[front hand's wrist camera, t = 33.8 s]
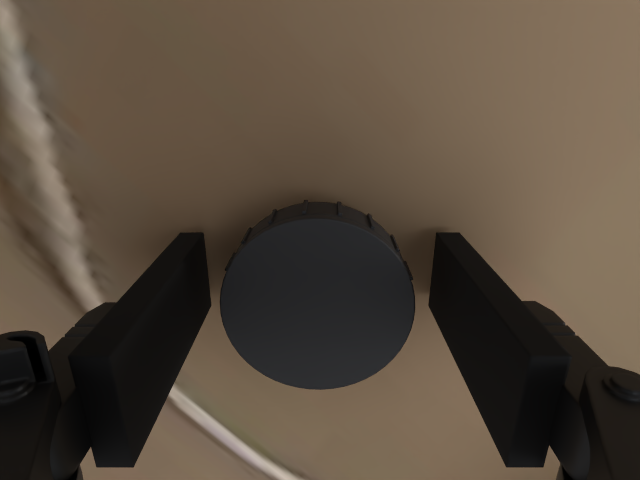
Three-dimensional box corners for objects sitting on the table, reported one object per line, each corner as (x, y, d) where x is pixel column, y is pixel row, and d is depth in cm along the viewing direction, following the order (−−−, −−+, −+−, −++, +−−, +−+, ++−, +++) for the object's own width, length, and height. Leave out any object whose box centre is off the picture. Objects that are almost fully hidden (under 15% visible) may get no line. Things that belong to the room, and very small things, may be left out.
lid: (311, 159, 12) (309, 171, 10) (444, 281, 13) (459, 308, 12) (194, 287, 14) (177, 314, 12) (323, 385, 15) (323, 421, 13)
